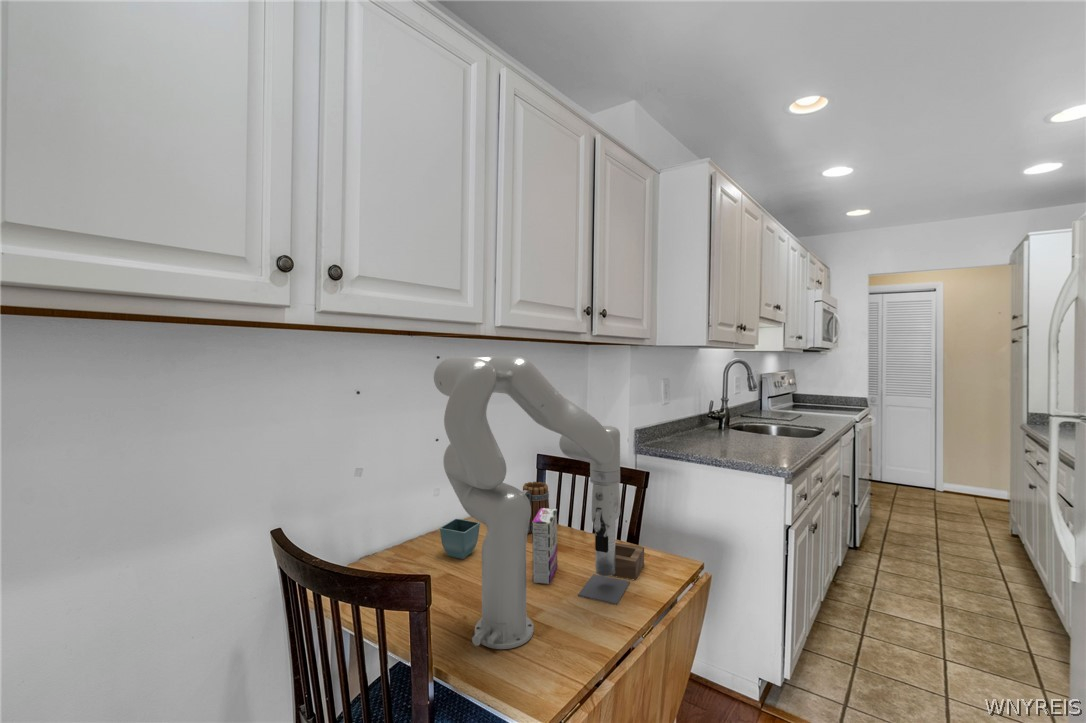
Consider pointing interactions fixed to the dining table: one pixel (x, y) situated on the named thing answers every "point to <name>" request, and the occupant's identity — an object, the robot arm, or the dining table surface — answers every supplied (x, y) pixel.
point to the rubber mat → (604, 589)
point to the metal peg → (607, 554)
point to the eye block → (628, 560)
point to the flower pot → (459, 537)
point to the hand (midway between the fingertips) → (605, 546)
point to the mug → (536, 498)
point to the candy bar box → (544, 545)
